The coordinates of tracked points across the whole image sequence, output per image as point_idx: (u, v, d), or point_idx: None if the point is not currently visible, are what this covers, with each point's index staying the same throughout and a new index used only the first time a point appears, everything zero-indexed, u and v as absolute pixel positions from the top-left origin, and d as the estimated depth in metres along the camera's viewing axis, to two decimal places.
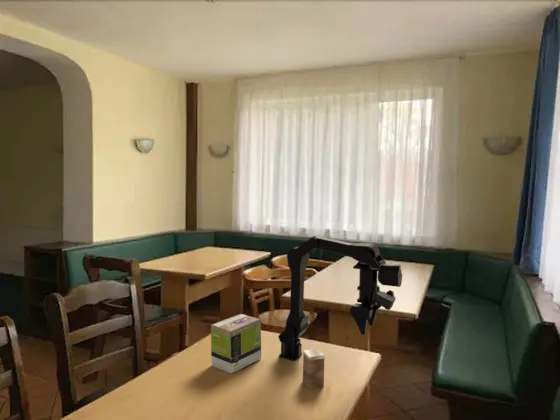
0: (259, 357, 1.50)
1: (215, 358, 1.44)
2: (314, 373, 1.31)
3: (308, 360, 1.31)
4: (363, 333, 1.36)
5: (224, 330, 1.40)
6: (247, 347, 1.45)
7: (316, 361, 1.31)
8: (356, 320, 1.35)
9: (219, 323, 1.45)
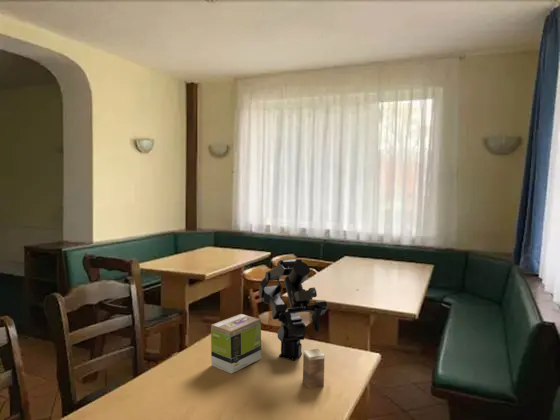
0: (259, 357, 1.50)
1: (215, 358, 1.44)
2: (314, 373, 1.31)
3: (308, 360, 1.31)
4: (293, 333, 1.38)
5: (224, 330, 1.40)
6: (247, 347, 1.45)
7: (316, 361, 1.31)
8: (285, 323, 1.42)
9: (219, 323, 1.45)
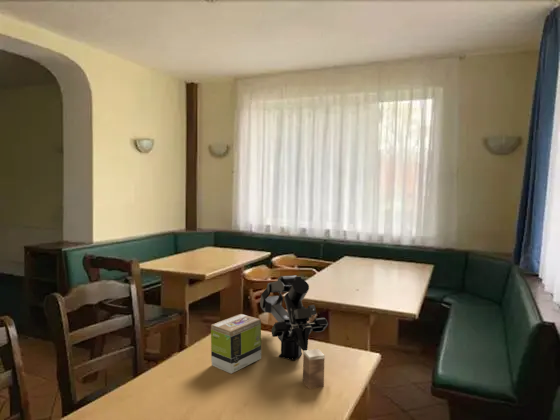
0: (259, 357, 1.50)
1: (215, 358, 1.44)
2: (314, 373, 1.31)
3: (308, 360, 1.31)
4: None
5: (224, 330, 1.40)
6: (247, 347, 1.45)
7: (316, 361, 1.31)
8: (295, 340, 1.43)
9: (219, 323, 1.45)
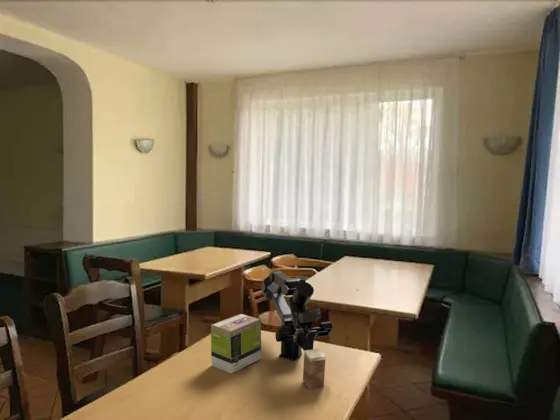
0: (259, 357, 1.50)
1: (215, 358, 1.44)
2: (315, 373, 1.31)
3: (309, 361, 1.31)
4: None
5: (224, 330, 1.40)
6: (247, 347, 1.45)
7: (317, 362, 1.30)
8: (300, 345, 1.39)
9: (219, 323, 1.45)
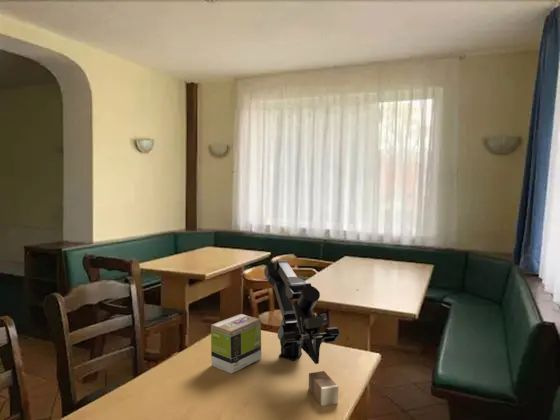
0: (259, 357, 1.50)
1: (215, 358, 1.44)
2: None
3: (319, 400, 1.23)
4: (315, 362, 1.31)
5: (224, 330, 1.40)
6: (247, 347, 1.45)
7: None
8: (306, 351, 1.35)
9: (219, 323, 1.45)
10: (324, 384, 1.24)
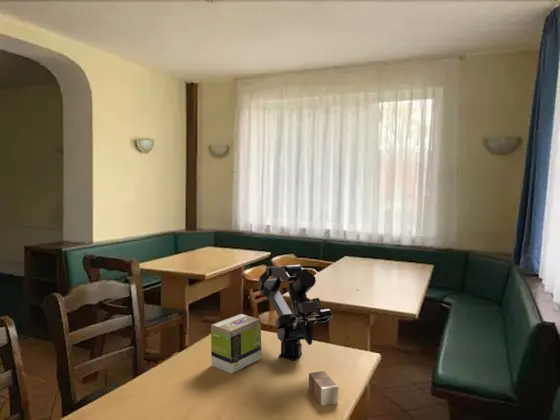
0: (259, 357, 1.50)
1: (215, 358, 1.44)
2: None
3: (319, 400, 1.23)
4: (308, 343, 1.39)
5: (224, 330, 1.40)
6: (247, 347, 1.45)
7: None
8: (300, 332, 1.42)
9: (219, 323, 1.45)
10: (324, 384, 1.24)
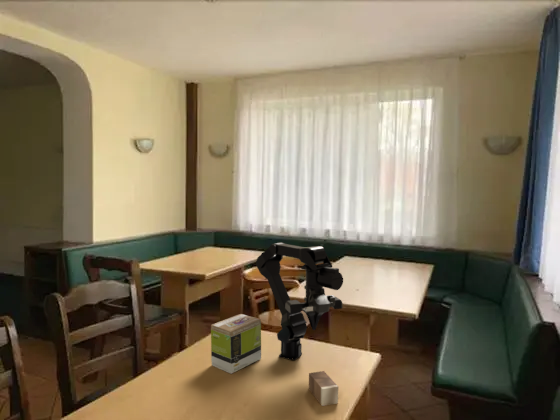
0: (259, 357, 1.50)
1: (215, 358, 1.44)
2: None
3: (319, 400, 1.23)
4: (312, 328, 1.44)
5: (224, 330, 1.40)
6: (247, 347, 1.45)
7: None
8: (306, 314, 1.45)
9: (219, 323, 1.45)
10: (324, 384, 1.24)
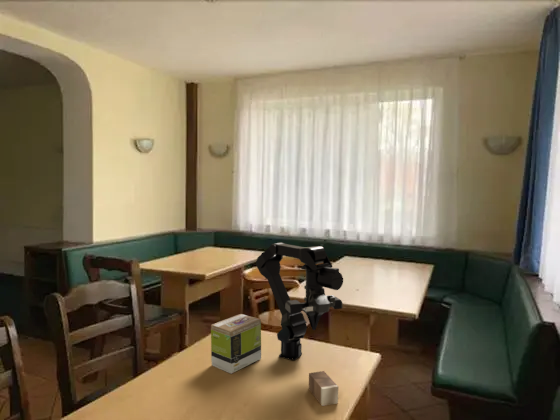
0: (259, 357, 1.50)
1: (215, 358, 1.44)
2: None
3: (319, 400, 1.23)
4: (312, 328, 1.44)
5: (224, 330, 1.40)
6: (247, 347, 1.45)
7: None
8: (306, 314, 1.45)
9: (219, 323, 1.45)
10: (324, 384, 1.24)
